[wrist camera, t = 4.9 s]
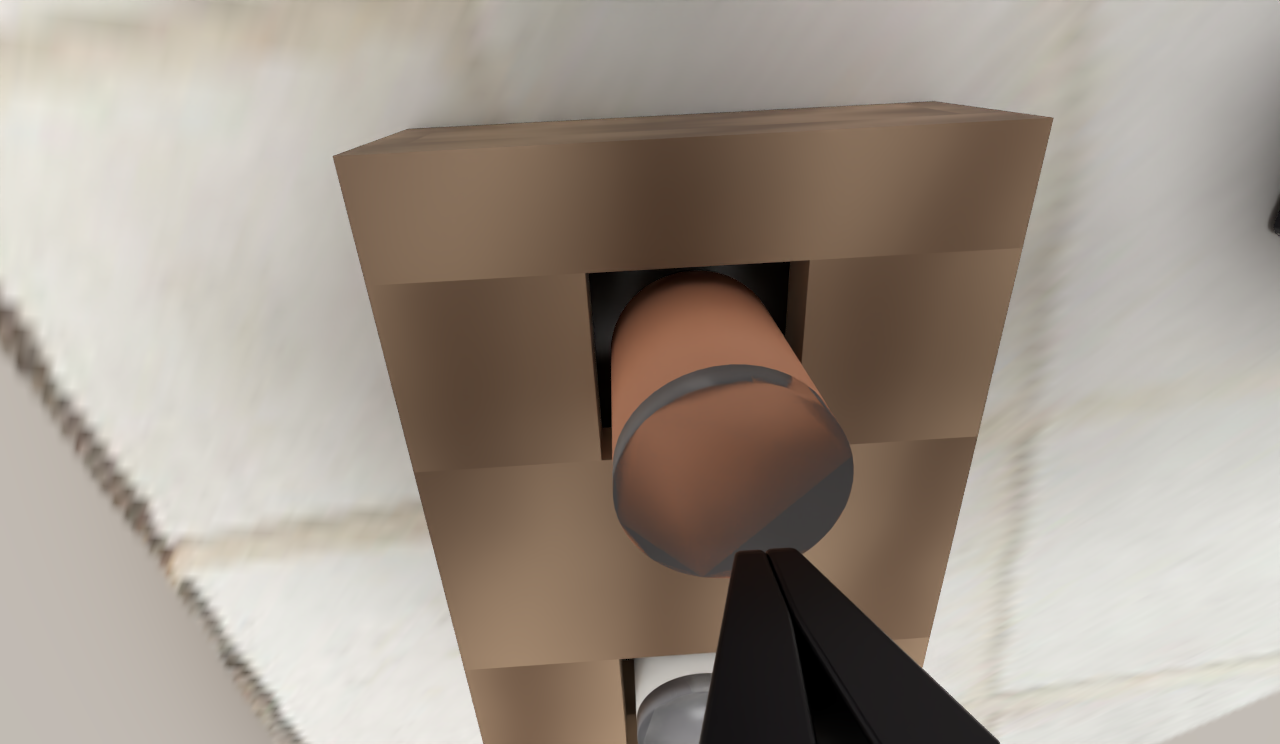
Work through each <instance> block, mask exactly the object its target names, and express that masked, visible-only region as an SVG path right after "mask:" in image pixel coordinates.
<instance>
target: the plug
mask: <svg viewBox="0 0 1280 744" xmlns="http://www.w3.org/2000/svg"><path fill="white" fill-rule="evenodd" d="M715 655H716V652H715V653H701V654H687V655H673V656H658V657H644V658H634V671H635V694H636V717H637V739H638V744H699V740H700V735H701V729H702V724H703V719H704V713H705V708H706V703H707V698H708V692H709V687H710V682H711V676H712V671H713V666H714V661H715Z"/></svg>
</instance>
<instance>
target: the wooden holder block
mask: <svg viewBox="0 0 1280 744" xmlns="http://www.w3.org/2000/svg"><path fill="white" fill-rule="evenodd" d="M1052 122H1053V118H1052V117H1044V116H1037V115H1030V114H1022V113H1015V112H1008V111H1001V110H993V109H986V108H979V107H971V106H964V105H957V104H950V103H942V102H935V101H932V102H913V103H894V104H875V105H856V106H837V107H818V108H798V109H779V110H760V111H741V112H722V113H703V114H684V115H665V116H646V117H627V118H608V119H589V120H570V121H551V122H532V123H513V124H494V125H475V126H456V127H437V128H417V129H406V130H404V131H401V132H398V133H395V134H392V135H390V136H387V137H384V138H381V139H379V140H376V141H373V142H370V143H368V144H365V145H362V146H359V147H357V148H354V149H351V150H348V151H346V152H343V153H340V154H337V155H335V156H333V159H334V163H335V167H336V171H337V175H338V179H339V183H340V186H341V190H342V194H343V198H344V202H345V206H346V210H347V214H348V218H349V222H350V225H351V229H352V233H353V237H354V241H355V245H356V249H357V253H358V257H359V261H360V264H361V268H362V272H363V276H364V280H365V284H366V288H367V292H368V296H369V300H370V303H371V307H372V311H373V315H374V319H375V323H376V327H377V331H378V335H379V338H380V342H381V346H382V350H383V354H384V358H385V362H386V366H387V370H388V374H389V377H390V381H391V385H392V389H393V393H394V397H395V401H396V405H397V409H398V413H399V416H400V420H401V424H402V428H403V432H404V436H405V440H406V444H407V448H408V452H409V455H410V459H411V463H412V467H413V471H414V475H415V479H416V483H417V487H418V491H419V494H420V498H421V502H422V506H423V510H424V514H425V518H426V522H427V526H428V529H429V533H430V537H431V541H432V545H433V549H434V553H435V557H436V561H437V565H438V568H439V572H440V576H441V580H442V584H443V588H444V592H445V596H446V600H447V604H448V607H449V611H450V615H451V619H452V623H453V627H454V631H455V635H456V639H457V643H458V646H459V650H460V654H461V658H462V662H463V666H464V670H465V674H466V678H467V682H468V685H469V689H470V693H471V697H472V701H473V705H474V709H475V713H476V717H477V720H478V724H479V728H480V732H481V736H482V740H483V744H638V739H637V717H636V694H635V671H634V660H624V661H622V659H630V658H644V657H658V656H673V655H687V654H701V653H715V652H716V650H717V645H718V640H719V634H720V629H721V624H722V618H723V613H724V608H725V603H726V597H727V592H728V587H729V582H730V578H705V577H698V576H693V575H688V574H684V573H681V572H678V571H675V570H672V569H670V568H668V567H665V566H663V565H661V564H659V563H658V562H656V561H654V560H652V559H651V558H650V557H648V556H647V555H646V554H644V553H643V552H642V551H641V550H640V549H639V548H638V547H637V546H636V545H635V544H634V543H633V542H632V541H631V540H630V539H629V537H628V536H627V534H626V533H625V532H624V530H623V528H622V526H621V524H620V522H619V520H618V517H617V514H616V511H615V507H614V501H613V475H612V428H602V423H601V411H600V399H599V388H598V376H597V364H596V352H595V341H594V329H593V317H592V306H591V294H590V282H589V273H597V272H614V271H631V270H649V269H666V268H683V267H701V266H718V265H735V264H753V263H770V262H787V261H790V271H789V286H788V301H787V316H786V331H785V339H786V341H787V342H788V344H789V345H790V347H791V348H792V350H793V352H794V353H795V355H796V356H797V358H798V360H799V361H800V363H801V364H802V366H803V368H804V369H805V371H806V372H807V374H808V375H809V377H810V379H811V380H812V382H813V383H814V385H815V387H816V388H817V390H818V391H819V393H820V394H821V396H822V398H823V399H824V401H825V402H826V404H827V406H828V407H829V409H830V410H831V412H832V414H833V415H834V417H835V418H836V420H837V421H838V423H839V425H840V426H841V428H842V429H843V431H844V433H845V435H846V437H847V439H848V442H849V444H850V448H851V452H852V455H853V464H854V475H853V484H852V489H851V493H850V496H849V499H848V501H847V504H846V506H845V508H844V510H843V512H842V514H841V516H840V518H839V519H838V520H837V522H836V523H835V524H834V526H833V527H832V529H831V530H830V531H829V532H828V533H827V534H826V535H825V536H824V537H823V538H822V539H821V540H820V541H819V542H818V543H817V544H816V545H814V546H813V547H812V548H811V549H809V550H808V551H806V552H805V553H804V554H802V555H803V556H804V557H806V558H807V559H808V560H809V561H810V562H811V563H812V564H813V565H814V566H815V567H816V568H817V569H818V570H819V571H820V572H821V573H822V574H823V575H824V576H826V577H827V578H828V579H829V580H830V581H831V582H832V583H833V584H834V585H835V586H836V587H837V588H838V589H839V590H840V591H841V592H842V593H843V594H845V595H846V596H847V597H848V598H849V599H850V600H851V601H852V602H853V603H854V604H855V605H856V606H857V607H858V608H859V609H860V610H861V611H862V612H863V613H865V614H866V615H867V616H868V617H869V618H870V619H871V620H872V621H873V622H874V623H875V624H876V625H877V626H878V627H879V628H880V629H881V630H882V631H883V632H885V633H886V634H887V635H888V636H889V637H890V638H891V639H892V640H893V641H894V642H895V643H896V644H897V645H898V646H899V647H900V648H901V649H902V650H903V651H905V652H906V653H907V654H908V655H909V656H910V657H911V658H912V659H913V660H914V661H915V662H916V663H917V664H918V665H919V666H920V667H921V668H922V667H923V663H924V659H925V655H926V650H927V646H928V642H929V638H930V634H931V629H932V625H933V621H934V617H935V613H936V609H937V604H938V600H939V596H940V592H941V588H942V583H943V579H944V575H945V571H946V567H947V562H948V558H949V554H950V550H951V546H952V541H953V537H954V533H955V529H956V525H957V520H958V516H959V512H960V508H961V504H962V499H963V495H964V491H965V487H966V483H967V478H968V474H969V470H970V466H971V462H972V458H973V453H974V449H975V445H976V441H977V437H978V432H979V428H980V424H981V420H982V416H983V411H984V407H985V403H986V399H987V395H988V390H989V386H990V382H991V378H992V374H993V369H994V365H995V361H996V357H997V353H998V348H999V344H1000V340H1001V336H1002V332H1003V328H1004V323H1005V319H1006V315H1007V311H1008V307H1009V302H1010V298H1011V294H1012V290H1013V286H1014V281H1015V277H1016V273H1017V269H1018V265H1019V260H1020V256H1021V252H1022V248H1023V244H1024V239H1025V235H1026V231H1027V227H1028V223H1029V218H1030V214H1031V210H1032V206H1033V202H1034V197H1035V193H1036V189H1037V185H1038V181H1039V177H1040V172H1041V168H1042V164H1043V160H1044V156H1045V151H1046V147H1047V143H1048V139H1049V135H1050V130H1051V126H1052Z"/></svg>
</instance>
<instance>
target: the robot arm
mask: <svg viewBox="0 0 1280 744" xmlns="http://www.w3.org/2000/svg"><path fill="white" fill-rule="evenodd" d="M1274 230H1275V233H1276V234H1277V235H1278V236H1280V211H1279V213H1278V215H1277V218H1276V220H1275V224H1274ZM699 744H1000V742H999V741H998V740H997V739H996V738H995V737H994V736H993V735H992V734H991V733H990V732H989V731H988V730H987V729H986V728H985V727H984V726H982V725H981V724H980V723H979V722H978V721H977V720H976V719H975V718H974V717H973V716H972V715H971V714H970V713H969V712H968V711H967V710H966V709H965V708H964V707H962V706H961V705H960V704H959V703H958V702H957V701H956V700H955V699H954V698H953V697H952V696H951V695H950V694H949V693H948V692H947V691H946V690H945V689H944V688H942V687H941V686H940V685H939V684H938V683H937V682H936V681H935V680H934V679H933V678H932V677H931V676H930V675H929V674H928V673H927V672H926V671H925V670H924V669H922V668H921V667H920V666H919V665H918V664H917V663H916V662H915V661H914V660H913V659H912V658H911V657H910V656H909V655H908V654H907V653H906V652H905V651H903V650H902V649H901V648H900V647H899V646H898V645H897V644H896V643H895V642H894V641H893V640H892V639H891V638H890V637H889V636H888V635H887V634H886V633H885V632H883V631H882V630H881V629H880V628H879V627H878V626H877V625H876V624H875V623H874V622H873V621H872V620H871V619H870V618H869V617H868V616H867V615H866V614H865V613H863V612H862V611H861V610H860V609H859V608H858V607H857V606H856V605H855V604H854V603H853V602H852V601H851V600H850V599H849V598H848V597H847V596H846V595H845V594H843V593H842V592H841V591H840V590H839V589H838V588H837V587H836V586H835V585H834V584H833V583H832V582H831V581H830V580H829V579H828V578H827V577H826V576H824V575H823V574H822V573H821V572H820V571H819V570H818V569H817V568H816V567H815V566H814V565H813V564H812V563H811V562H810V561H809V560H808V559H807V558H806V557H804V556H803V555H802V554H801V553H800V552H799V551H798V550H797V549H795V548H791V547H789V548H774V549H768V550H767V551H766V552H764V551H763V550H745V551H738V552H736V553H735V556H734V560H733V566H732V571H731V576H730V582H729V587H728V592H727V597H726V603H725V608H724V613H723V618H722V624H721V629H720V634H719V640H718V645H717V650H716V655H715V661H714V666H713V671H712V676H711V682H710V687H709V692H708V698H707V703H706V708H705V713H704V719H703V724H702V729H701V735H700V740H699Z"/></svg>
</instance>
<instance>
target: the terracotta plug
mask: <svg viewBox="0 0 1280 744" xmlns="http://www.w3.org/2000/svg"><path fill="white" fill-rule="evenodd" d="M611 391H612V475H613V501H614V507H615V511H616V514H617V517H618V520H619V522H620V524H621V526H622V528H623V530H624V532H625V533H626V534H627V536H628V537H629V539H630V540H631V541H632V542H633V543H634V544H635V545H636V546H637V547H638V548H639V549H640V550H641V551H642V552H643V553H644V554H646V555H647V556H648V557H650V558H651V559H652V560H654V561H656V562H658V563H659V564H661V565H663V566H665V567H668V568H670V569H672V570H675V571H678V572H681V573H684V574H688V575H693V576H698V577H705V578H730V576H731V571H732V566H733V560H734V556H735V553H736V552H738V551H745V550H763V551H764V552H766V551H767V550H768V549H774V548H789V547H791V548H795V549H797V550H798V551H799V552H800V553H801V554H804V553H805V552H806V551H808V550H809V549H811V548H812V547H813V546H814V545H816V544H817V543H818V542H819V541H820V540H821V539H822V538H823V537H824V536H825V535H826V534H827V533H828V532H829V531H830V530H831V529H832V527H833V526H834V524H835V523H836V522H837V520H838V519H839V518H840V516H841V514H842V512H843V510H844V508H845V506H846V504H847V501H848V499H849V496H850V493H851V489H852V484H853V475H854V464H853V455H852V452H851V448H850V444H849V442H848V439H847V437H846V435H845V433H844V431H843V429H842V428H841V426H840V425H839V423H838V421H837V420H836V418H835V417H834V415H833V414H832V412H831V410H830V409H829V407H828V406H827V404H826V402H825V401H824V399H823V398H822V396H821V394H820V393H819V391H818V390H817V388H816V387H815V385H814V383H813V382H812V380H811V379H810V377H809V375H808V374H807V372H806V371H805V369H804V368H803V366H802V364H801V363H800V361H799V360H798V358H797V356H796V355H795V353H794V352H793V350H792V348H791V347H790V345H789V344H788V342H787V341H786V339H785V337H784V336H783V334H782V333H781V331H780V329H779V328H778V326H777V325H776V323H775V321H774V320H773V318H772V317H771V315H770V314H769V312H768V310H767V309H766V307H765V306H764V304H763V303H762V301H761V300H760V298H759V297H758V296H757V295H756V294H755V293H754V292H753V291H752V290H751V289H749V288H748V287H747V286H746V285H744V284H743V283H741V282H739V281H738V280H736V279H734V278H732V277H729V276H727V275H724V274H720V273H717V272H711V271H704V270H692V271H683V272H678V273H674V274H670V275H667V276H665V277H662V278H660V279H658V280H656V281H654V282H652V283H650V284H649V285H647V286H646V287H645V288H643V289H642V290H640V291H639V292H638V293H637V294H636V295H635V296H634V297H633V298H632V299H631V300H630V301H629V302H628V304H627V305H626V306H625V308H624V309H623V311H622V312H621V314H620V316H619V318H618V320H617V322H616V325H615V328H614V331H613V335H612V341H611Z"/></svg>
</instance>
